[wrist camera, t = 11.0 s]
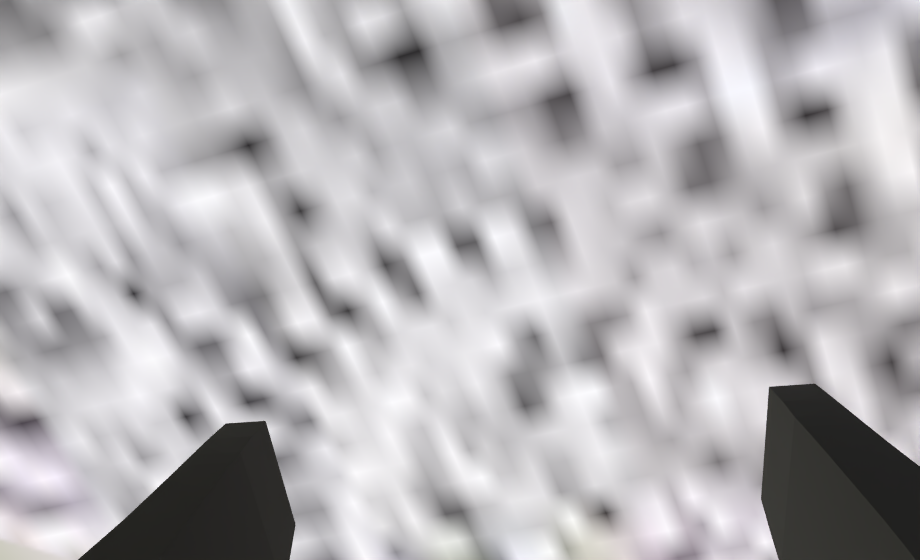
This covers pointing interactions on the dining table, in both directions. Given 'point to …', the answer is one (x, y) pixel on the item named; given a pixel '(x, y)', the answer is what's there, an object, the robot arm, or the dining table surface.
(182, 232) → the dining table surface
